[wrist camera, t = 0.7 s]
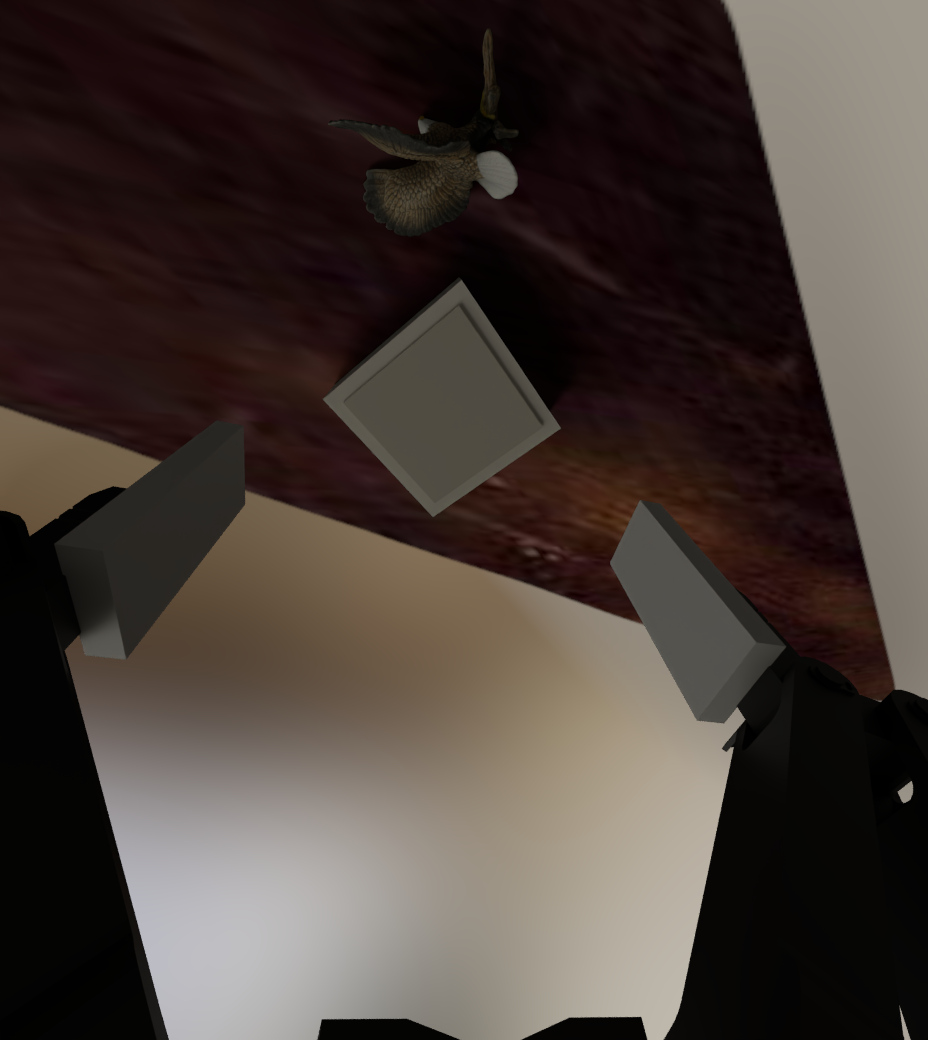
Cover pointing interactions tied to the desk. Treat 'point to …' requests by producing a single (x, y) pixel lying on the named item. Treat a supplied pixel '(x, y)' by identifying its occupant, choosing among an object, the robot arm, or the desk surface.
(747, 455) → the desk surface
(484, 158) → the eagle figurine
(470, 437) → the tray
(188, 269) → the desk surface
